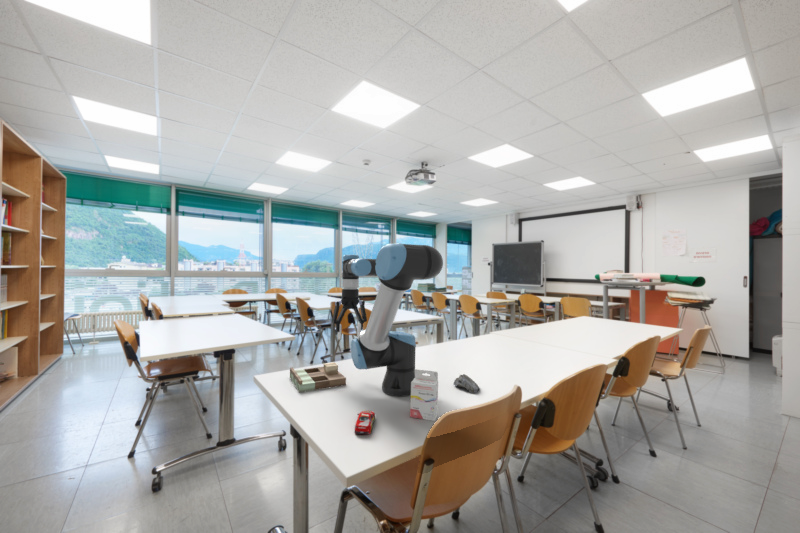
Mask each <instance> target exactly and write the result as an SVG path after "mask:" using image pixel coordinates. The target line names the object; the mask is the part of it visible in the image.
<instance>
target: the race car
mask: <svg viewBox="0 0 800 533" xmlns="http://www.w3.org/2000/svg"><path fill="white" fill-rule="evenodd" d="M357 416H358V417H357V420H356V422H355V425H354V433H355V435H356V434H357V435H370V434H371V433H372V431H373V428H374V424H375V419H376V413H375V412H374V411H371V410H362V411H360V412H358V413H357Z"/></svg>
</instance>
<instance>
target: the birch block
mask: <svg viewBox="0 0 800 533" xmlns="http://www.w3.org/2000/svg"><path fill="white" fill-rule="evenodd" d="M323 367H324V370H323V372H324V373H325V374H326V375H329V374H336V373H338V372H339V364H337V363H336V362H327V363H323Z"/></svg>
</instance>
